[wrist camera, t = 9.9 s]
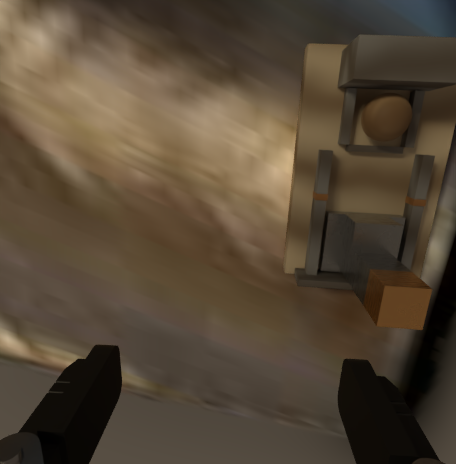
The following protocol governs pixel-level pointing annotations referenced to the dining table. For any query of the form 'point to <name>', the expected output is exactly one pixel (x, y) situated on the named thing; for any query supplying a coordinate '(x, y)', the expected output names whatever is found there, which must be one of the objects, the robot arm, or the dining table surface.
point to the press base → (369, 145)
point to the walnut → (386, 117)
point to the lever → (375, 266)
